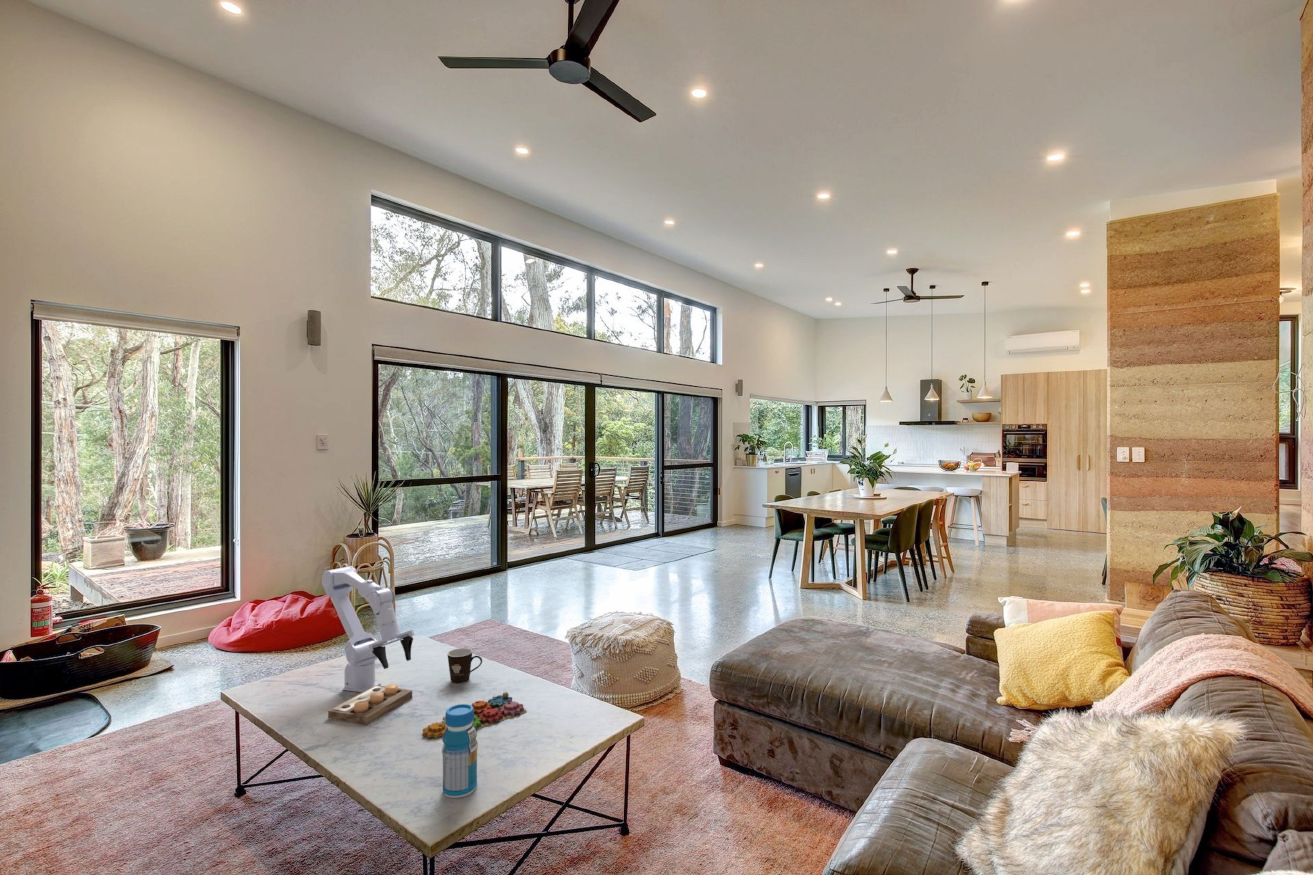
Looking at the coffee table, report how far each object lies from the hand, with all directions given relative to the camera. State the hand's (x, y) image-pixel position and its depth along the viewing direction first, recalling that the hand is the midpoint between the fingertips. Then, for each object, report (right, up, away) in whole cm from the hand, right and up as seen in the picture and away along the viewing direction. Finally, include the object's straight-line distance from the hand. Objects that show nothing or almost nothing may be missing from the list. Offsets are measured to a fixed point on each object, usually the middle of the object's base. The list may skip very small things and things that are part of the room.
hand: (397, 664), depth 200 cm
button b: (-4, -10, -6) cm, 12 cm away
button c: (-2, -10, 0) cm, 10 cm away
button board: (-6, -12, -6) cm, 14 cm away
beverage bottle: (+37, -12, -51) cm, 64 cm away
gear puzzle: (+29, -13, -14) cm, 34 cm away
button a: (-6, -10, -13) cm, 17 cm away
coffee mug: (+17, -12, +15) cm, 26 cm away
